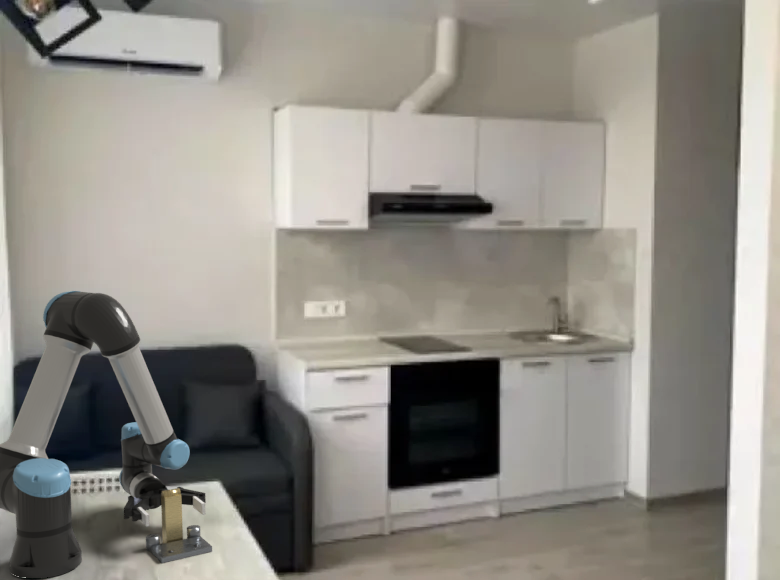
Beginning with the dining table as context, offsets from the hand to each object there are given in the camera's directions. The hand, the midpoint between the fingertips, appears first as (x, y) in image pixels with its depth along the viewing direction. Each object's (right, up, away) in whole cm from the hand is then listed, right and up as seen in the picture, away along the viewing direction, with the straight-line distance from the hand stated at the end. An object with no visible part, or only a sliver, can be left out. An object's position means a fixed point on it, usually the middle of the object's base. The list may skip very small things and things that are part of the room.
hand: (176, 514), depth 201 cm
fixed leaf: (+1, -8, 0) cm, 8 cm away
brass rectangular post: (-2, -8, +3) cm, 9 cm away
